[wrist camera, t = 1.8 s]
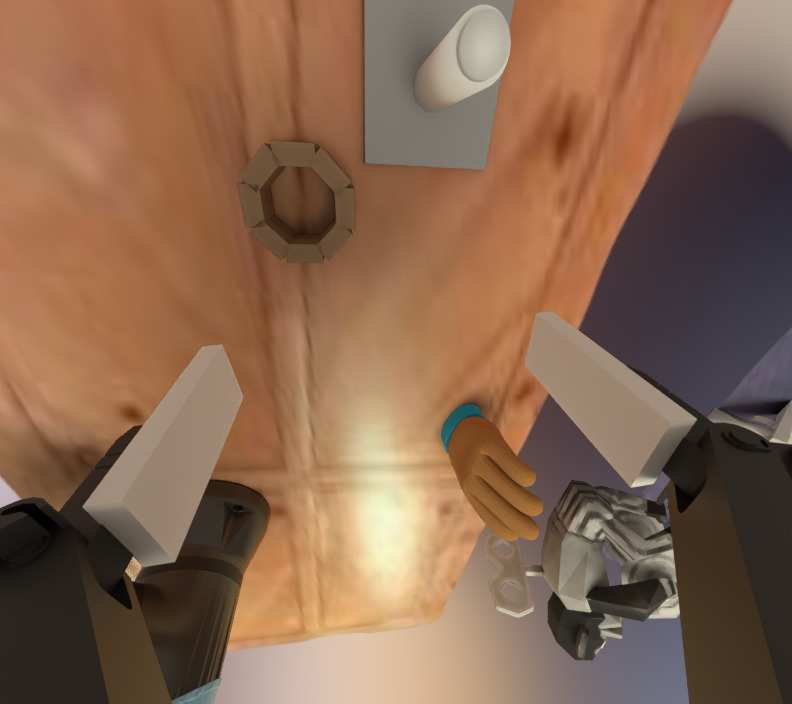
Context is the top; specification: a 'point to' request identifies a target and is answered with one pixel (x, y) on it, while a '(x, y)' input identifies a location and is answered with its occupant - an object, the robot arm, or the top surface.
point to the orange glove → (491, 474)
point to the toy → (594, 567)
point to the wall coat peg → (433, 80)
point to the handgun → (784, 429)
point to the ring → (261, 208)
